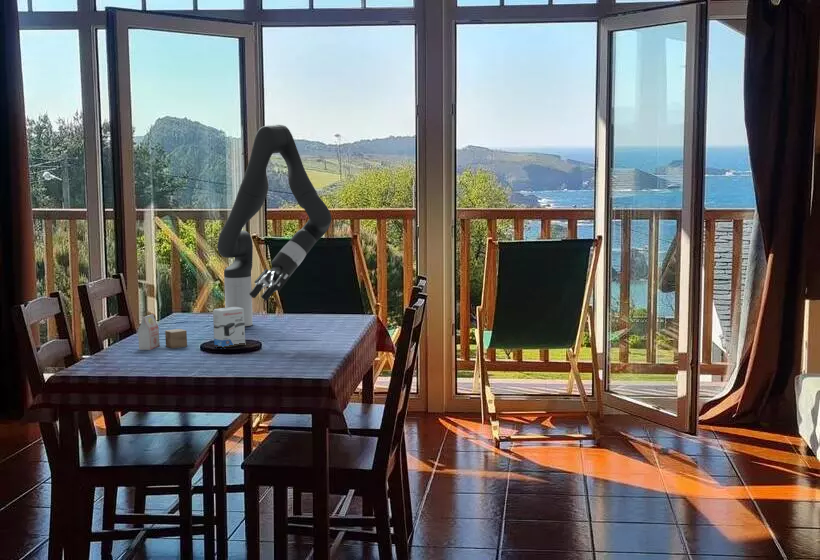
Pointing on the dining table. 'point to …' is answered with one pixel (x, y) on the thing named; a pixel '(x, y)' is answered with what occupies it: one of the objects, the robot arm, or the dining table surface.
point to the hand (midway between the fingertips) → (257, 297)
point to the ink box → (229, 326)
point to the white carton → (148, 333)
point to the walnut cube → (176, 338)
